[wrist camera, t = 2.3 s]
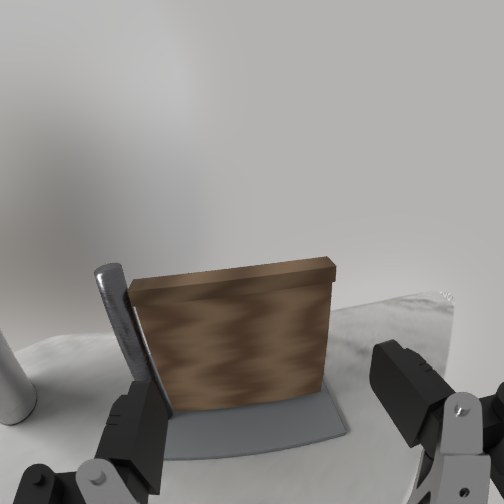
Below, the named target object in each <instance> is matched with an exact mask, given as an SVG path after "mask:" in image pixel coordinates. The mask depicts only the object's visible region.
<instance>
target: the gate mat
mask: <svg viewBox="0 0 504 504" xmlns="http://www.w3.org/2000/svg"><path fill="white" fill-rule="evenodd" d="M150 358H151V360H152V363H153V366H154V368H155V371H156V373H157V376H158V378H159V381H160V383H161V386H162V388H163V390H164V393H165V395H166V397H167V400H168V402H169V404H170V406H171V409H172V411H173V415H172V417H171V418H170V419H169V420H168V429H167V436H166V444H165V451H164V459H163V460H201V459H217V458H228V457H238V456H246V455H254V454H261V453H267V452H273V451H279V450H284V449H289V448H294V447H299V446H303V445H308V444H312V443H316V442H320V441H324V440H328V439H332V438H335V437H339V436H342V435H345V434H346V430H345V428H344V425H343V423H342V421H341V419H340V416H339V414H338V412H337V410H336V408H335V405H334V403H333V401H332V399H331V396H330V394H329V392H328V390H327V387H326V385H325V383H324V381H323V380H322V387H321V392H318V393H313V394H309V395H304V396H299V397H294V398H289V399H284V400H278V401H272V402H266V403H260V404H253V405H246V406H238V407H230V408H220V409H210V410H197V411H179V412H174V409H173V407H172V405H171V403H170V400H169V398H168V396H167V393H166V391H165V388H164V386H163V384H162V381H161V379H160V376H159V374H158V371H157V368H156V366H155V363H154V360H153V358H152V355H150Z"/></svg>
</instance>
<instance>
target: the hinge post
mask: <svg viewBox="0 0 504 504" xmlns="http://www.w3.org/2000/svg"><path fill="white" fill-rule="evenodd" d="M94 275H95V278H96V282H97V285H98V288H99V291H100V294H101V297H102V300H103V303H104V306H105V309H106V311H107V314H108V317H109V320H110V323H111V325H112V328H113V331H114V333H115V336H116V338H117V341H118V343H119V346H120V348H121V350H122V353H123V355H124V357H125V360H126V362H127V364H128V367H129V369H130V371H131V373H132V375H133V378H134V380H135V381H154V382H155V384H156V386H157V389H158V391H159V393H160V396H161V398H162V401H163V403H164V405H165V407H166V410H167V414H168V420H169V419H170V418H171V417H172V415H173V411H172V409H171V406H170V404H169V402H168V400H167V397H166V395H165V393H164V390H163V388H162V386H161V383H160V381H159V378H158V376H157V373H156V371H155V368H154V366H153V363H152V360H151V358H150V355H149V352H148V350H147V347H146V344H145V341H144V338H143V335H142V333H141V330H140V327H139V324H138V321H137V317H136V314H135V311H134V308H133V307H132V305H131V302H130V298H129V295H128V292H127V291H128V288H127V284H126V281H125V277H124V273H123V269H122V265H121V264H119V263H110V264H106V265H103V266H101V267H99V268H97V269H96V270H95V272H94Z"/></svg>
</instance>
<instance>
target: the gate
mask: <svg viewBox="0 0 504 504" xmlns="http://www.w3.org/2000/svg"><path fill="white" fill-rule="evenodd" d="M335 280H336V265H335V264H334V263H333V262H332V261H331V260H330V259H329V258H328V257H327V256H326V257H319V258H312V259H303V260H296V261H287V262H280V263H272V264H264V265H255V266H248V267H239V268H231V269H222V270H215V271H205V272H197V273H188V274H180V275H171V276H161V277H152V278H143V279H134V280H133V281H132V283H131V285H130V287H129V289H128V291H127V292H128V295H129V298H130V302H131V305H132V307H134V306H135V307H136V311H137V314H138V317H139V320H140V323H141V326H142V329H143V332H144V335H145V338H146V341H147V344H148V347H149V350H150V352H151V355H152V358H153V360H154V363H155V366H156V368H157V371H158V374H159V376H160V379H161V381H162V384H163V386H164V388H165V391H166V393H167V396H168V398H169V400H170V403H171V405H172V407H173V409H174V412H179V411H197V410H210V409H220V408H230V407H238V406H246V405H253V404H260V403H266V402H272V401H278V400H284V399H289V398H294V397H299V396H304V395H309V394H313V393H318V392H321V387H322V380H323V373H324V365H325V357H326V348H327V339H328V329H329V318H330V305H331V293H332V282H335Z"/></svg>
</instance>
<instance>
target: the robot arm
mask: <svg viewBox="0 0 504 504" xmlns="http://www.w3.org/2000/svg"><path fill="white" fill-rule="evenodd" d="M369 379H370V385H371V388H372V390H373V391H374V393H375V394H376V396H377V397H378V399H379V400H380V402H381V404H382V405H383V407H384V408H385V410H386V411H387V413H388V414H389V416H390V417H391V419H392V421H393V422H394V424H395V425H396V427H397V428H398V430H399V431H400V433H401V435H402V436H403V438H404V439H405V441H406V442H407V444H408V446H409V447H410V448H412V447H414V446H416V445H419V444H421V445H422V446H423V450H422V453H421V457H420V462H419V466H418V471H417V475H416V479H415V483H414V487H413V490H412V494H411V496H410V498H409V500H408V502H407V504H487V502H488V494H489V483H490V478H491V479H492V481H493V483H494V484H495V486H496V487H497V489H498V491H499V492H500V494H501V496H502V497H503V499H504V382H503V383H502V384H501V385H500V386H499V388H498V390H497V392H496V394H494V395H491V396H487V397H483V398H479V399H478V398H477V397H475V396H474V395H472V394H470V393H466V392H458V393H456V392H455V391H454V390H453V389H452V388H451V387H450V386H449V385H448V384H447V383H446V382H445V381H444V379H443V378H442V377H441V376H440V375H439V374H438V373H437V372H436V371H435V370H433V369H432V367H431V366H430V365H429V364H428V363H426V361H425V360H424V359H423V358H422V357H421V356H420V355H419V354H418V353H416V352H414V351H412V350H410V349H408V348H406V349H403V348H402V347H401V346H400V345H399V343H398V342H397V341H395V340H389V341H386V342H382V343H379V344H376V345H375V346H374V348H373V354H372V361H371V368H370V375H369ZM36 398H37V395H36V390H35V388H34V386H33V385H32V383H31V382H30V380H29V379H28V377H27V376H26V374H25V373H24V371H23V369H22V368H21V366H20V364H19V363H18V361H17V359H16V358H15V356H14V354H13V352H12V351H11V349H10V347H9V345H8V343H7V341H6V340H5V338H4V336H3V334H2V332H1V330H0V423H2V424H6V425H11V424H16V423H18V422H20V421H22V420H23V419H25V418H26V417H27V416H28V415H29V414H30V412H31V411H32V410H33V408H34V406H35V403H36ZM167 429H168V414H167V410H166V407H165V405H164V403H163V401H162V398H161V396H160V393H159V391H158V389H157V386H156V384H155V382H154V381H133V382H132V383H131V386H130V389H129V392H128V395H121V396H120V397H119V398H118V399H117V400H116V401H115V403H114V404H113V406H112V408H111V411H110V414H109V417H108V419H107V422H106V426H105V428H104V431H103V434H102V437H101V440H100V443H99V446H98V449H97V452H96V455H95V457H94V459H91V460H88V461H86V462H84V463H83V464H82V465H81V466H80V467H79V468H78V470H77V471H76V472H67V473H54V472H53V471H52V470H51V469H50V468H49V467H48V466H46V465H44V464H34V465H32V466H30V467H28V468H27V469H26V470H25V472H24V473H23V476H22V478H21V481H20V484H19V487H18V490H17V493H16V496H15V499H14V502H13V504H148V495H149V494H151V495H160V485H161V476H162V467H163V459H164V451H165V444H166V436H167Z"/></svg>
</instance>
